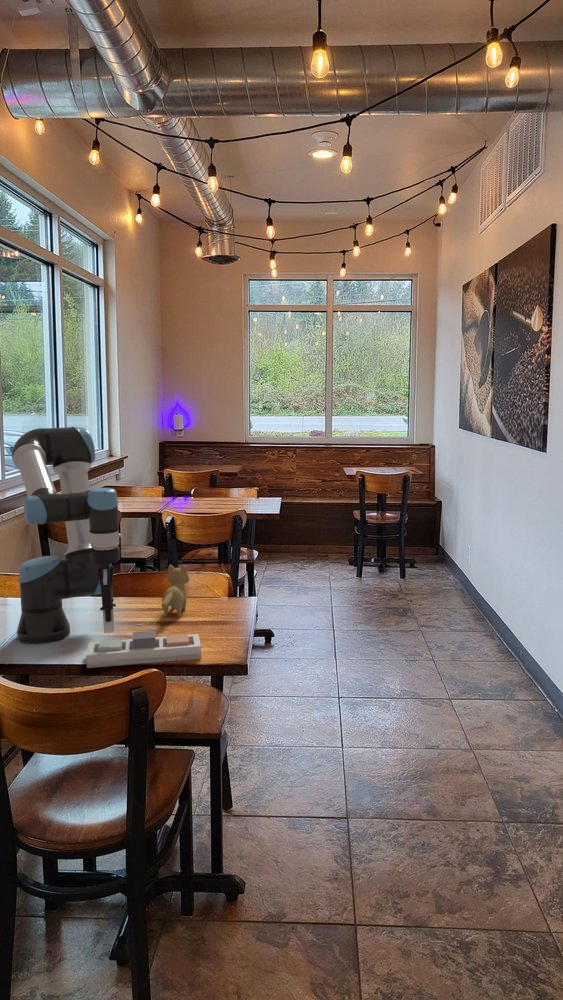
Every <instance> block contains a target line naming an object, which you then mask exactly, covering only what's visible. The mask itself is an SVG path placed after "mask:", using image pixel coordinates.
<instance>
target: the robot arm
mask: <svg viewBox="0 0 563 1000" xmlns="http://www.w3.org/2000/svg"><path fill="white" fill-rule="evenodd" d="M11 451H12V452H11V459H12V462H13V464H14V467H15V468H16V469H17V470H18V471H19V473H20V476H21V479H22V483H23V485H24V488H25V489H24V490H25V492H26V495H27V496H26V497H24V498H23V503H22V505H23V506H22V507H23V515H24V520H25V522H26V524H28V525H45V524H53V523H62V522H65V527H66V536H67V544H68V549H67V551H66V552H65V553H64V559H60V557H59V556H57V555H45V556H40V557H35V558H32V559H29V560H27V561H25V562H24V563H22V564H21V565H20V566H19V569H18V579H17V580H18V583H19V592H20V594H19V596H20V597H19V598H20V608H21V613H20V616H19V617H20V618H19V622H18V625H17V629H16V639H17V641H18V642H20V643H24V644H31V645H32V644H33V645H34V644H37V645H39V644H47V643H52V642H53V643H54V642H56V641H60V640H62V639H64V638H66V637H68V636H69V635H70V634H71V626H70V623H69V620H68V618H67V616H66V613H65V610H64V608H63V600H64V599H65V600H66V599H67V600H68V599H72V598H79V597H86V596H87V597H88V596H95V595H100V594H101V605H102V606H101V607H100V608H99V611H102V620H103V634H107V633H108V634H109V633H111V634H112V633H115V629H116V628H115V614H114V612H115V611H114V607H117V604H116V603H114V588H113V587H114V585H113V584H114V580H115V579H114V578H115V577H114V573H115V566H113V565H112V564H115V563H117V562H119V561H120V560H121V549H120V546H119V545H120V538H121V537H122V534H121V533H119V531H120V530H119V499H118V494H117V493H118V492H117V491H116V489H114V488H110V487H98V488H92V489H90V484H89V483H90V482H89V476H88V472H89V471H90V469H91V468H92V463H94V462H95V461H96V460H95V459H96V452H95V451H96V449H95V444H94V440H93V437H92V435H91V432H90V431H89V430H88V429H87V428H86V427H80V426H79V427H78V426H71V427H70V426H69V427H45V428H44V427H43V428H41V427H39V428H34V429H31V430H29V431H27V432H25V433H24V434H22V435H20V437H19V438H18V439H17V440H16V442H15V444H14V445H13V448H12V450H11ZM48 466H52V468H53V469H52V471H53V472H54V473H56V475H58V477H59V485H60V491H61V493H58V492H57V490H56V487H55V485H54V481H53V480H52V477H51V474H50V471H49V469H48Z"/></svg>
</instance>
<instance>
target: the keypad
mask: <svg viewBox="0 0 563 1000" xmlns="http://www.w3.org/2000/svg"><path fill="white" fill-rule="evenodd" d="M166 636H167V635H165V636H162V637H161V636H155V641H156V646H151V647H138V648H133V638H131V639H130V638H129V639H128V638H127V639H122V644H123V649H122V650H121V651H108V652H98V647H99V643H100V641H91V642H88V646H87V650H86V654H85V659H86V660H85V661H86V669H90V668H91V669H92V668H94V669H95V668H104V667H116V666H129V665H139V664H151V663H152V664H154V663H163V662H164V661H166V662H176V661H175V660H177V661H190V660H199V659H202V647H201V646H202V645H201V640H200V636H199V633H193V634H188V637H189V645H183V646H171V647H167V641H166Z"/></svg>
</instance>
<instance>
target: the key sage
mask: <svg viewBox="0 0 563 1000" xmlns="http://www.w3.org/2000/svg"><path fill="white" fill-rule="evenodd" d="M122 640H123V638H121V639H106V640H99V642H100V643H99V647H98V652H108V651H121V650H122V649H123V644H122Z"/></svg>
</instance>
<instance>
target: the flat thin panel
mask: <svg viewBox="0 0 563 1000" xmlns="http://www.w3.org/2000/svg"><path fill="white" fill-rule="evenodd" d="M137 625H138V626H143V627H145V626H146V627H147V628H149V629H152V630H155V631H159V630H160V629H158V628H154V627H150V626H148V625H144V624H141V623H137V624H133V625H130V626H128V627H125V628H122V629H118V630H116V631H114V633H118V634H122V635H125V636H128V637H130V635H129V634H125V633H123V632H120V631H122V630H125V629H128V628H132V627H134V626H137ZM131 626H132V627H131ZM159 632H162V630H160V631H159ZM166 632H167V633H166V634H169V632H168V631H166ZM166 634H163V637H165V636H166ZM132 638H133V635H132Z"/></svg>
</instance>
